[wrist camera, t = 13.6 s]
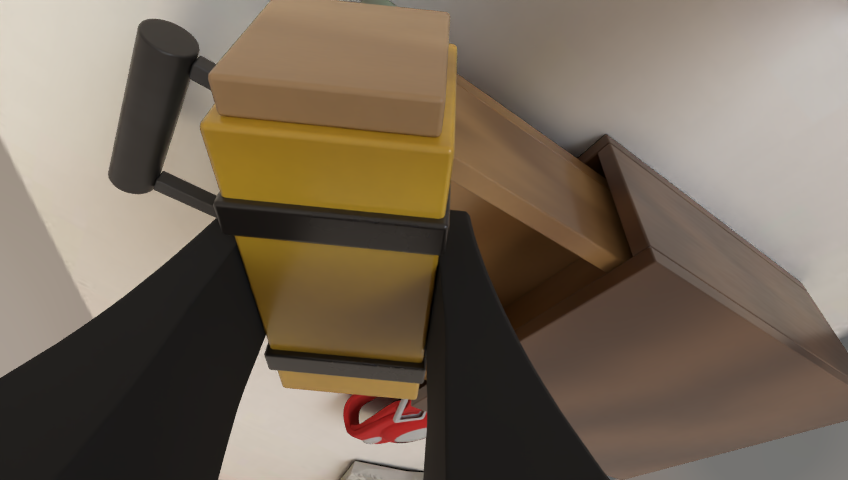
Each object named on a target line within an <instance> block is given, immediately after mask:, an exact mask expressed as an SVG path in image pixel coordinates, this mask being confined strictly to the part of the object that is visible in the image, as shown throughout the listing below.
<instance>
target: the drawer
mask: <svg viewBox="0 0 848 480" xmlns="http://www.w3.org/2000/svg"><path fill="white" fill-rule="evenodd" d="M360 3H365V4H375V5H384V6H394V7H397V6H396V5H394V4H393V3H392V2H390V1H389V0H361V2H360ZM198 54H199V45H198V43H197V41H196V39H195V38H194V37H193V36H192V35H191V34H190V33H189V32H188V31H186V30H185V29H183V28H182V27H180V26H178V25H176V24H174V23H171V22H169V21H165V20H161V19H147V20H144V21H142V22H141V23H140V24H139V26H138V30H137V35H136V39H135V44H134V49H133V54H132V59H131V64H130V69H129V74H128V79H127V83H126V88H125V93H124V98H123V103H122V108H121V113H120V118H119V123H118V127H117V132H116V137H115V142H114V147H113V152H112V157H111V162H110V167H109V171H108V176H109V179H110V181H111V182H112V183H113V185H114V186H116V187H117V188H118V189H120V190H122V191H124V192H127V193H132V194H144V193H147V192H150V191H152V190H153V189H154V190H156V191H158V192H160V193H162V194H165V195H167V196H169V197H171V198H173V199H176V200H178V201H180V202H182V203H185V204H187V205H189V206H191V207H193V208H196V209H198V210H200V211H202V212H205V213H207V214H209V215H211V216H213V217H216V218H217V216H216V213H215V210H214V207H213V203H214V200H215V199H216V197H217V196H216V195H214V194H212V193H210V192H207V191H205V190H203V189H201V188H199V187H197V186H195V185H193V184H190V183H188V182H186V181H184V180H182V179H180V178H178V177H175V176H173V175H171V174H169V173H167V172H165V171H163V172H162V173H161V171H162V168H163V164H164V161H165V158H166V155H167V152H168V149H169V145H170V142H171V139H172V136H173V133H174V130H175V127H176V123H177V120H178V117H179V114H180V111H181V108H182V104H183V101H184V98H185V95H186V92H187V89H188V85H189V82H190V79H191V80H193V81H195V82H197V83H198V84H200V85H202V86H204V87H206V88H207V89H209V90H211V88H210V84H209V80H208V75H209V73H210V71H211V70H212V69H213V68H214V67H215V66H216V64H215V63H213V62H211V61H209V60H208V59H206V58H204V57H202V56H200V57H198ZM197 57H198V58H197ZM450 210H458V211H466V212H467V213H468V214H469V215H470V218H471V223H472V227H473V231H474V234H475V238H476V241H477V244H478V247H479V250H480V253H481V256H482V259H483V262H484V264H485V267H486V269H487V272H488V275H489V277H490V279H491V282H492V284H493V286H494V289H495V291H496V293H497V296H498V298H499V300H500V302H501V305H502V307H503V309H504V311H505V313H506V315H507V317H508V319H509V321H510V323H511V325H512V327H513V329H514V330H516V329H517V328H519V327H521V326H522V325H524V324H526V323H527V322H529V321H530V320H532V319H534V318H535V317H537V316H538V315H540V314H542V313H543V312H545V311H547V310H548V309H550V308H551V307H553V306H555V305H556V304H558V303H559V302H561V301H563V300H564V299H566V298H568V297H569V296H571V295H572V294H574V293H576V292H577V291H579V290H580V289H582V288H584V287H585V286H587V285H589V284H590V283H592V282H593V281H595V280H597V279H598V278H600V277H602V276H603V275H605V274H606V273H608V272H610V271H611V270H613V269H614V268H616V267H618V266H619V265H621V264H623V263H624V262H626V261H627V260H629V259H631V258H632V257H634V256H633V255H632V252H631V249H630V247H629V244H628V241H627V238H626V235H625V232H624V229H623V226H622V223H621V221H620V218H619V215H618V212H617V209H616V206H615V203H614V200H613V197H612V194H611V192H610V189H609V186H608V183H607V180H606V179H605V178H604V177H602V176H601V175H600V174H598V173H597V172H595V171H594V170H593V169H591V168H590V167H588V166H587V165H585V164H584V163H583V162H581V161H580V160H578V159H577V158H576V157H574V156H573V155H571V154H570V153H569V152H567V151H566V150H564V149H563V148H562V147H560V146H559V145H557V144H556V143H554V142H553V141H552V140H550V139H549V138H547V137H546V136H545V135H543V134H542V133H540V132H539V131H538V130H536V129H535V128H533V127H532V126H530V125H529V124H528V123H526V122H525V121H523V120H522V119H521V118H519V117H518V116H516V115H515V114H514V113H512V112H511V111H509V110H508V109H506V108H505V107H504V106H502V105H501V104H499V103H498V102H497V101H495V100H494V99H492V98H491V97H490V96H488V95H487V94H485V93H484V92H482V91H481V90H480V89H478V88H477V87H475V86H474V85H473V84H471V83H470V82H468V81H467V80H466V79H464V78H463V77H461V76H460V75H458V74H457V82H456V122H455V154H454V160H453V167H452V174H451V195H450ZM424 380H427V365H426V372H425V378H424Z"/></svg>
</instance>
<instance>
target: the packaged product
mask: <svg viewBox="0 0 848 480" xmlns="http://www.w3.org/2000/svg"><path fill="white" fill-rule="evenodd" d="M423 476H424V472H410V471H402V470H397V469H392V468H387V467H382V466H377V465H372V464H367V463H362V462H357V461H354V463H353V464H352V465H351V467H350V468H349V469H348V471H347V472H346V473H345V474H344V476H343V477H342V478H341V479H340V480H423Z"/></svg>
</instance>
